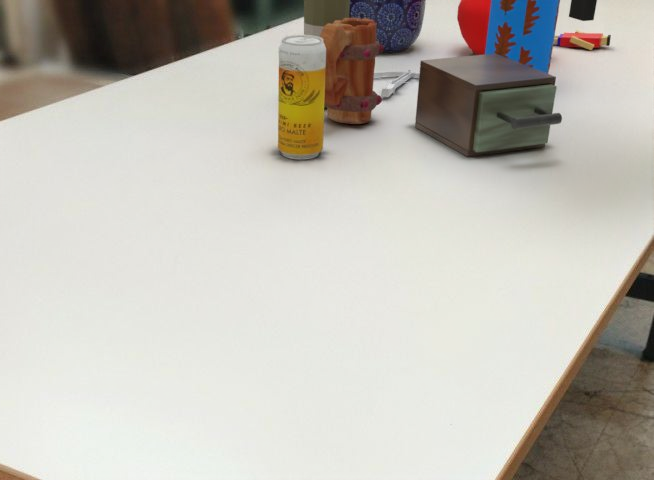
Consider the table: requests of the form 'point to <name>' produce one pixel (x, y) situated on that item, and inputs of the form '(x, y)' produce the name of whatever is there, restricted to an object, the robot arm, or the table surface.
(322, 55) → the beer can
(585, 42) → the toy figure
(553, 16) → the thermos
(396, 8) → the planter
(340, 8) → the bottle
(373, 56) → the mug
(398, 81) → the crossbow
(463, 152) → the cabinet
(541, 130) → the drawer
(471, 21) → the vase
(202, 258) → the table surface
